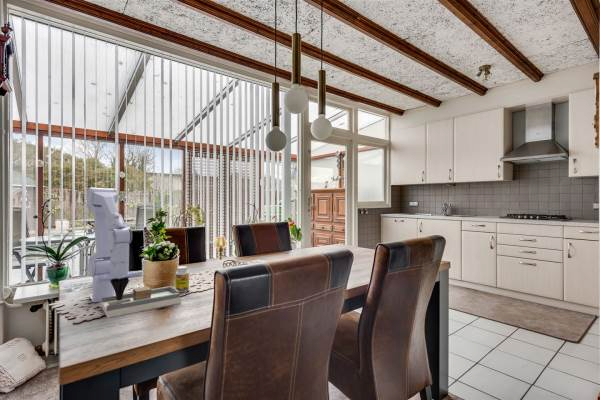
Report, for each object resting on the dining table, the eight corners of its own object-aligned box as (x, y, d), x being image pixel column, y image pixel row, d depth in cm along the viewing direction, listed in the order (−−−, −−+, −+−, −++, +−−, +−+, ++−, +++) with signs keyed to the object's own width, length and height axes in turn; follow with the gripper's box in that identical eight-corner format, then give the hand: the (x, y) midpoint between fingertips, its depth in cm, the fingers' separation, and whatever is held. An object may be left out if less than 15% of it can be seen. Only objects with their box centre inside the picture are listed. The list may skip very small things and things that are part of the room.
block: (132, 298, 114) (133, 288, 114) (147, 296, 118) (147, 286, 118) (136, 302, 110) (136, 291, 110) (150, 299, 114) (151, 289, 114)
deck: (101, 306, 112) (101, 295, 112) (169, 294, 127) (169, 284, 127) (107, 317, 101) (107, 305, 101) (180, 303, 116) (180, 292, 116)
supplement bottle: (173, 292, 129) (173, 268, 129) (177, 288, 135) (177, 265, 135) (187, 292, 130) (187, 268, 130) (190, 288, 136) (190, 265, 136)
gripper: (97, 266, 101) (96, 306, 101) (144, 261, 111) (144, 298, 111) (94, 262, 107) (93, 301, 107) (139, 258, 116) (139, 293, 116)
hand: (119, 299), depth 109 cm, fingers closed
